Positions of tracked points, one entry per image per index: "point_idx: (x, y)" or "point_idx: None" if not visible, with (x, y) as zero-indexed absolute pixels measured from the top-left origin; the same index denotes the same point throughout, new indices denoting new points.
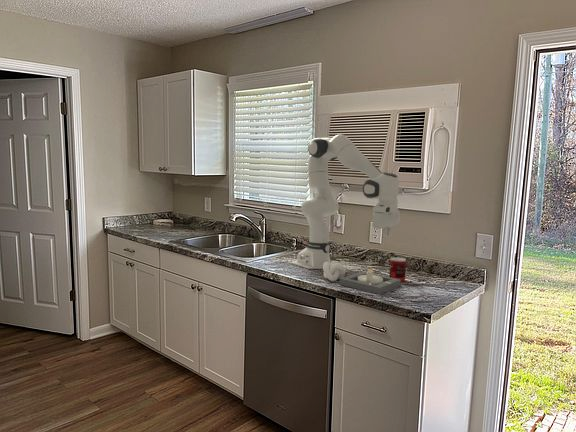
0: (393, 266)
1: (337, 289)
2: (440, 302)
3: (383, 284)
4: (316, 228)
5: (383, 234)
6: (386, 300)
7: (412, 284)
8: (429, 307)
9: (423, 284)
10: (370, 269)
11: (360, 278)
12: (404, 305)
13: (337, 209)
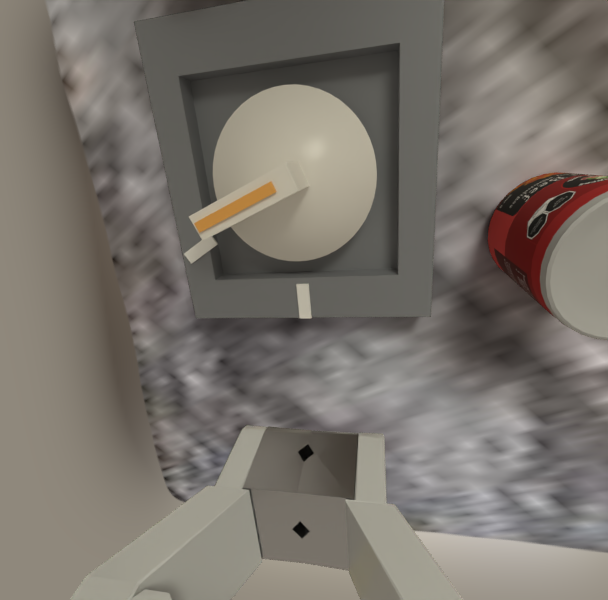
0: (523, 247)
1: (89, 107)
2: None
3: (257, 300)
4: None
5: (235, 457)
6: (169, 363)
7: (502, 335)
8: None
9: (547, 375)
10: (288, 174)
11: (230, 142)
12: (180, 429)
13: None
